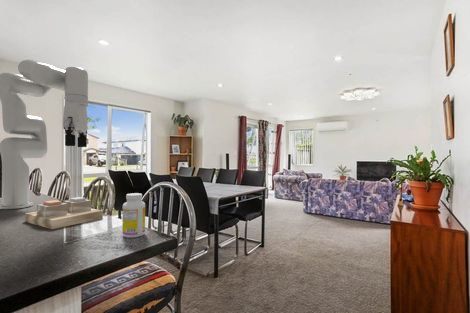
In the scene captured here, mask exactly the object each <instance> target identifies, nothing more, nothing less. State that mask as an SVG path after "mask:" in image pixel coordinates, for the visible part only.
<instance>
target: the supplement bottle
mask: <svg viewBox="0 0 470 313" xmlns="http://www.w3.org/2000/svg"><path fill="white" fill-rule="evenodd" d="M125 199H126V202H124V203H123V204H122V231H121V232H122V233H121V234H122V236H123V237H124V238H128V239H132V238H133V239H134V238H139V237H142V236H144V235H145V234H146V203H145V202H144V201H142V199H143V194H142V193H139V192H134V193H133V192H132V193H127V194H126V196H125Z"/></svg>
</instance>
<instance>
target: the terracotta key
mask: <svg viewBox="0 0 470 313" xmlns="http://www.w3.org/2000/svg"><path fill="white" fill-rule="evenodd" d="M62 201H63V200H58V199H57V200H46V201H43V203H42V204H43V205H46V206H53V205H60V204H62V203H63V202H62Z"/></svg>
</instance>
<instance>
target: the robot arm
mask: <svg viewBox="0 0 470 313" xmlns="http://www.w3.org/2000/svg"><path fill="white" fill-rule="evenodd" d="M17 70H18V72H19V73H14V72H2V73H0V103H1V113H2V114H1V116H2V118H1V119H2V127H3V131H4V132H5V133H6V134H8V135H9V134H10V135H14V136H15V135H17V136H30V137H17V136H15V137H14V136H11V137H6V138H3V139H2V140H1V141H0V158H1V203H0V210H16V209H17V210H18V209H22V208H23V209H24V208H28V207H32V206H34V202H32V201H30V166H29V164H28V163H27V162H26V161H25V160H24V159H42V158H44V157H45V156H46V155H47V153H48V136H47V133H48V132H47V125H46V124H47V123H46V122H45V120H44V119H43V118H42V117H40V116H39V117H38V116H36V115H28V114H27V106H26V103H25V102H24V100H23V99H22V98H21V97H20V96H19V95H18V94H20V95H24V96H31V97H36V98H41V97H44V96H46V94H47V93H49V92H50V91H51V90H52V89H56V90H59V91H60V90H61V91H64V107H63V112H62V113H63V114H62V115H63V116H62V129H63V130H64V146H65V147H76V132H77V135H78V136H77V148H87V147H88V145H87V144H88V138H87V137H88V135H87V134H88V111H87V107H88V106H89V73H88V71H87V69H84V68H82V67H78V66H68V67H66V68H65V70H64V69H60V68H57V67H55V66H53V65H50V64H48V63H43V62H40V61H37V60H33V59H24V60H22V61H20V62H19V63H18V65H17Z"/></svg>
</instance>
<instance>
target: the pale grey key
mask: <svg viewBox="0 0 470 313" xmlns="http://www.w3.org/2000/svg"><path fill="white" fill-rule="evenodd" d="M86 199H87V197H82V196H77V197H70V198H69V199H68V200H69V201H71V202H80V201H86Z"/></svg>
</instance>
